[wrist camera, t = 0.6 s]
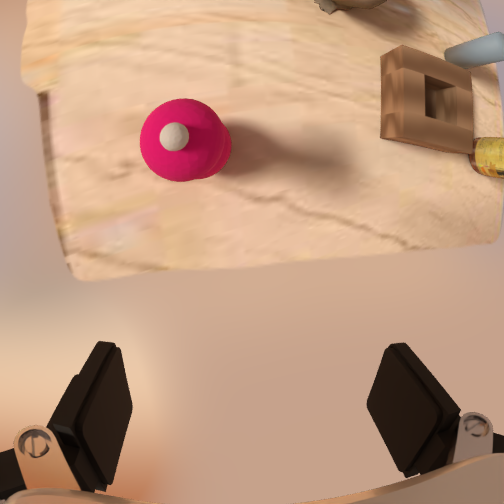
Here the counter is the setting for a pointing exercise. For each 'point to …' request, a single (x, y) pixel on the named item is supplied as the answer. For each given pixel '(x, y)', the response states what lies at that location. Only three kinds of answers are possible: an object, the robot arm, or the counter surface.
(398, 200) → the counter surface
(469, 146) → the socket block
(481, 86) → the counter surface
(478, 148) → the sauce bottle
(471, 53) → the peg
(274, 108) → the counter surface
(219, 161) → the pepper mill
